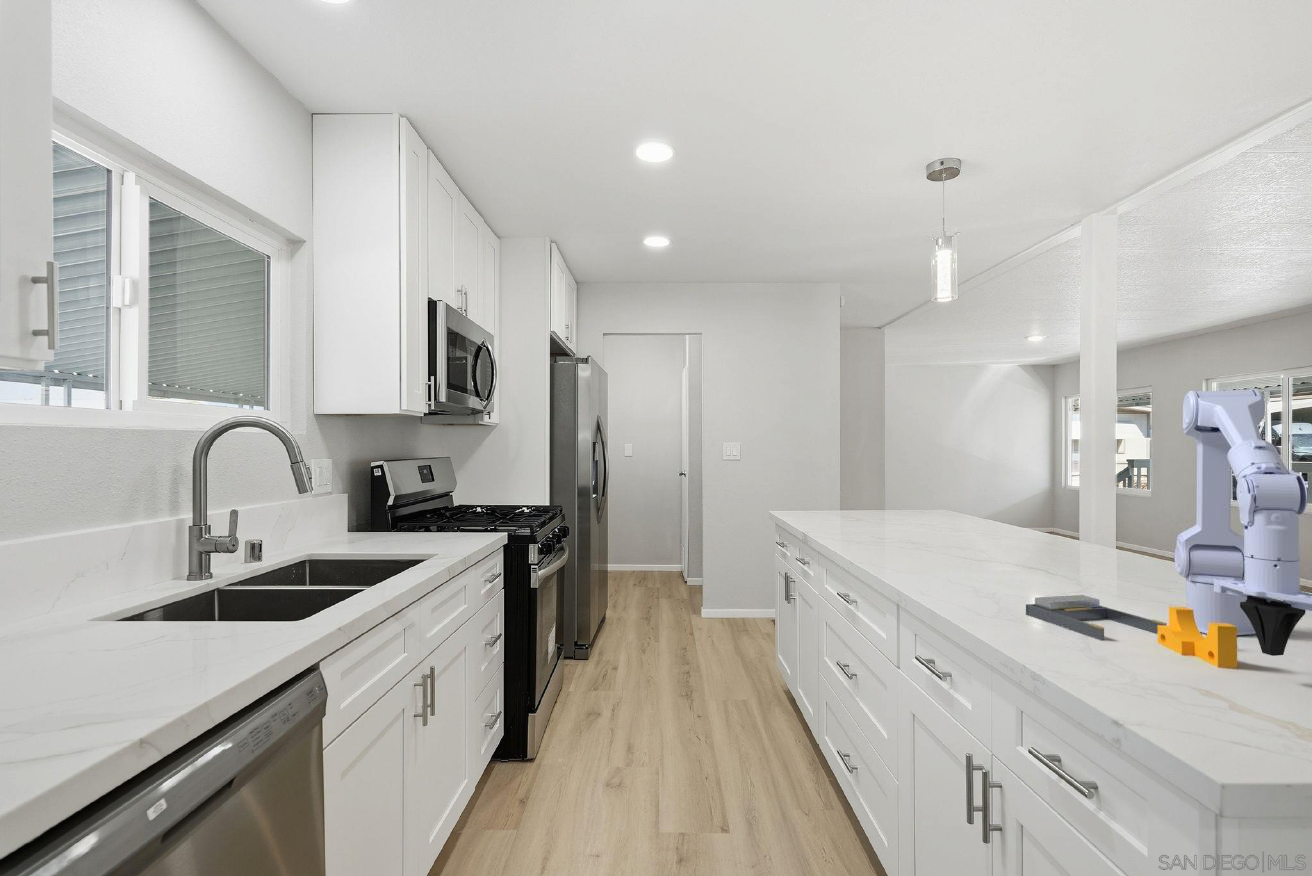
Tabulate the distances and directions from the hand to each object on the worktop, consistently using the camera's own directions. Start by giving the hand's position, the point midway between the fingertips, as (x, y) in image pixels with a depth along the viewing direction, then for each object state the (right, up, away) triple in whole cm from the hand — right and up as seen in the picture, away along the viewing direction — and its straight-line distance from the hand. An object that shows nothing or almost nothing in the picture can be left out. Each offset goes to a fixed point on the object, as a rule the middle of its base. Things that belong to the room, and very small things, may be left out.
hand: (1272, 653), depth 92 cm
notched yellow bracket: (-1, -5, +12) cm, 13 cm away
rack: (-6, -4, +30) cm, 30 cm away
